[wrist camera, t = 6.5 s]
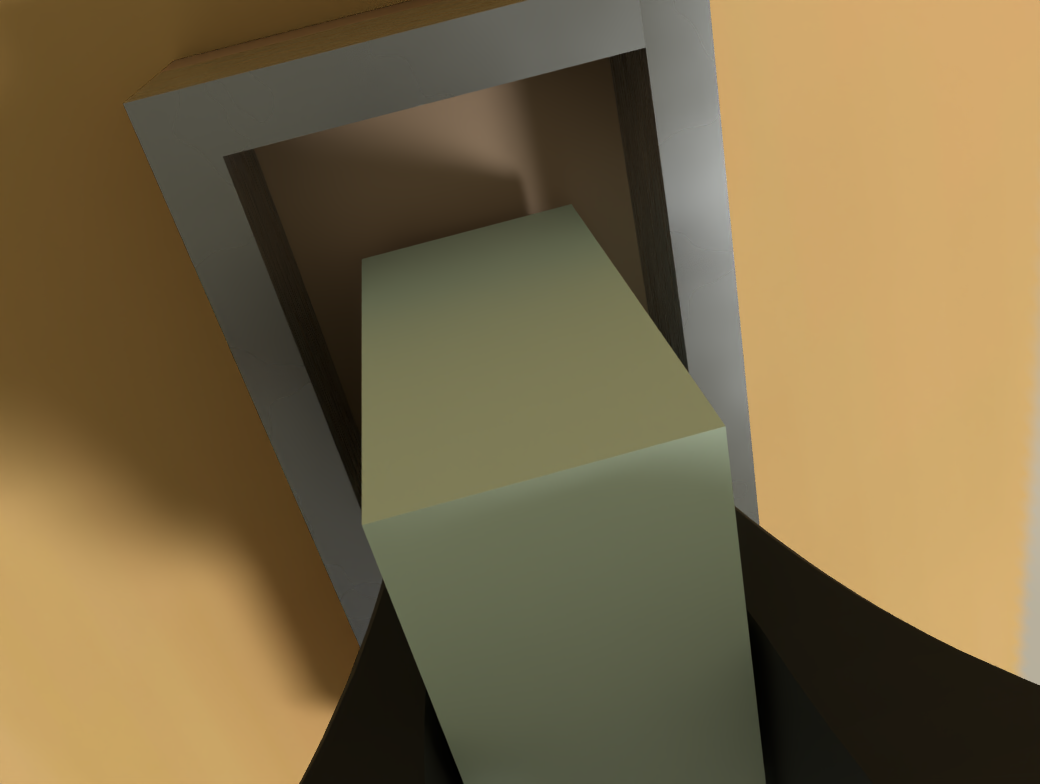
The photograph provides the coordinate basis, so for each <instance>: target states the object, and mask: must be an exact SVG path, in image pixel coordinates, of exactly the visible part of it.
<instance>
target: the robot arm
mask: <svg viewBox="0 0 1040 784" xmlns="http://www.w3.org/2000/svg"><path fill="white" fill-rule="evenodd" d="M735 514H736V523H737V532H738V541H739V550H740V559H741V567H742V576H743V585H744V594H745V603H746V612H747V621H748V630H749V639H750V648H751V656H752V665H753V674H754V683H755V692H756V701H757V710H758V719H759V728H760V737H761V745H762V754H763V763H764V772H765V781H766V784H1040V685H1037V684H1035V683H1032V682H1030V681H1028V680H1025V679H1023V678H1021V677H1019V676H1016V675H1014V674H1012V673H1010V672H1007V671H1005V670H1003V669H1000V668H998V667H996V666H994V665H991V664H989V663H987V662H985V661H982V660H980V659H978V658H976V657H973V656H971V655H969V654H967V653H964V652H962V651H960V650H958V649H956V648H954V647H952V646H950V645H948V644H946V643H944V642H942V641H940V640H938V639H936V638H934V637H932V636H930V635H928V634H926V633H924V632H922V631H921V630H919V629H917V628H915V627H913V626H911V625H910V624H908V623H906V622H904V621H902V620H900V619H899V618H897V617H895V616H893V615H891V614H890V613H888V612H886V611H885V610H883V609H881V608H879V607H878V606H876V605H874V604H873V603H871V602H869V601H868V600H866V599H865V598H863V597H861V596H860V595H858V594H856V593H855V592H853V591H852V590H850V589H849V588H847V587H846V586H844V585H842V584H841V583H839V582H838V581H836V580H835V579H833V578H832V577H830V576H828V575H827V574H826V573H824V572H823V571H821V570H820V569H818V568H817V567H815V566H814V565H812V564H811V563H809V562H808V561H807V560H805V559H804V558H802V557H801V556H800V555H798V554H797V553H796V552H794V551H793V550H791V549H790V548H789V547H787V546H786V545H785V544H783V543H782V542H780V541H779V540H778V539H776V538H775V537H774V536H772V535H771V534H770V533H768V532H767V531H766V530H764V529H763V528H762V527H761V526H759V525H758V524H757V523H755V522H754V521H753V520H752V519H750V518H749V517H748V516H747V515H746V514H744V513H743V512H742V511H741V510H739V509H738V508H737V507H736V506H735ZM299 784H464V783H463V780H462V778H461V775H460V773H459V770H458V768H457V765H456V763H455V760H454V758H453V755H452V752H451V750H450V747H449V745H448V742H447V740H446V737H445V735H444V732H443V730H442V727H441V725H440V722H439V720H438V717H437V714H436V712H435V709H434V707H433V704H432V702H431V699H430V697H429V694H428V692H427V689H426V687H425V684H424V682H423V679H422V677H421V674H420V671H419V669H418V666H417V664H416V661H415V659H414V656H413V654H412V651H411V649H410V646H409V644H408V641H407V639H406V636H405V633H404V631H403V628H402V626H401V623H400V621H399V618H398V616H397V613H396V611H395V608H394V606H393V603H392V601H391V598H390V595H389V593H388V590H387V588H386V585H385V583H384V580H383V579H382V583H381V587H380V590H379V594H378V597H377V600H376V603H375V607H374V610H373V613H372V616H371V619H370V622H369V625H368V628H367V631H366V634H365V636H364V639H363V642H362V644H361V647H360V650H359V652H358V655H357V658H356V660H355V663H354V666H353V668H352V671H351V674H350V676H349V679H348V681H347V684H346V686H345V688H344V691H343V693H342V695H341V697H340V700H339V702H338V704H337V706H336V709H335V711H334V713H333V715H332V718H331V720H330V722H329V724H328V727H327V729H326V731H325V733H324V736H323V738H322V740H321V742H320V744H319V746H318V748H317V750H316V752H315V754H314V756H313V758H312V760H311V762H310V764H309V766H308V768H307V770H306V772H305V774H304V776H303V778H302V780H301V781H300V783H299Z"/></svg>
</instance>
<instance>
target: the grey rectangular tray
mask: <svg viewBox="0 0 1040 784" xmlns="http://www.w3.org/2000/svg"><path fill="white" fill-rule="evenodd" d="M123 105H124V107H125V109H126V112H127V114H128V116H129V118H130V121H131V123H132V125H133V128H134V130H135V132H136V134H137V137H138V139H139V141H140V144H141V146H142V148H143V151H144V153H145V155H146V157H147V160H148V162H149V164H150V167H151V169H152V171H153V173H154V176H155V178H156V180H157V183H158V185H159V187H160V190H161V192H162V194H163V196H164V199H165V201H166V203H167V206H168V208H169V210H170V212H171V215H172V217H173V219H174V222H175V224H176V226H177V229H178V231H179V233H180V235H181V238H182V240H183V242H184V245H185V247H186V249H187V251H188V254H189V256H190V258H191V261H192V263H193V265H194V267H195V270H196V272H197V274H198V277H199V279H200V281H201V284H202V286H203V288H204V290H205V293H206V295H207V297H208V300H209V302H210V304H211V306H212V309H213V311H214V313H215V316H216V318H217V320H218V323H219V325H220V327H221V329H222V332H223V334H224V336H225V339H226V341H227V343H228V345H229V348H230V350H231V352H232V355H233V357H234V359H235V362H236V364H237V366H238V368H239V371H240V373H241V375H242V378H243V380H244V382H245V384H246V387H247V389H248V391H249V394H250V396H251V398H252V401H253V403H254V405H255V407H256V410H257V412H258V414H259V417H260V419H261V421H262V423H263V426H264V428H265V430H266V433H267V435H268V437H269V439H270V442H271V444H272V446H273V449H274V451H275V453H276V456H277V458H278V460H279V462H280V465H281V467H282V469H283V472H284V474H285V476H286V478H287V481H288V483H289V485H290V488H291V490H292V492H293V495H294V497H295V499H296V501H297V504H298V506H299V508H300V511H301V513H302V515H303V517H304V520H305V522H306V524H307V527H308V529H309V531H310V534H311V536H312V538H313V540H314V543H315V545H316V547H317V550H318V552H319V554H320V556H321V559H322V561H323V563H324V566H325V568H326V570H327V572H328V575H329V577H330V579H331V582H332V584H333V586H334V589H335V591H336V593H337V595H338V598H339V600H340V602H341V605H342V607H343V609H344V611H345V614H346V616H347V618H348V621H349V623H350V625H351V628H352V630H353V632H354V634H355V637H356V639H357V641H358V644H359V646H360V647H361V644H362V642H363V639H364V636H365V634H366V631H367V628H368V625H369V622H370V619H371V616H372V613H373V610H374V607H375V603H376V600H377V597H378V594H379V590H380V587H381V583H382V579H383V578H382V575H381V573H380V570H379V568H378V565H377V563H376V560H375V557H374V555H373V552H372V550H371V547H370V545H369V542H368V540H367V537H366V535H365V532H364V530H363V527H362V259H364V258H368V257H372V256H375V255H379V254H383V253H387V252H391V251H394V250H398V249H402V248H406V247H410V246H413V245H417V244H421V243H425V242H429V241H432V240H436V239H440V238H444V237H448V236H451V235H455V234H459V233H463V232H467V231H471V230H474V229H478V228H482V227H486V226H490V225H493V224H497V223H501V222H505V221H509V220H512V219H516V218H520V217H524V216H528V215H531V214H535V213H539V212H543V211H547V210H550V209H554V208H558V207H562V206H566V205H569V204H572V206H573V207H574V208H575V210H576V211H577V213H578V214H579V216H580V217H581V219H582V220H583V221H584V223H585V224H586V226H587V227H588V229H589V230H590V232H591V233H592V234H593V236H594V237H595V239H596V240H597V242H598V243H599V245H600V246H601V247H602V249H603V250H604V252H605V253H606V255H607V256H608V257H609V259H610V260H611V262H612V263H613V265H614V266H615V268H616V269H617V270H618V272H619V273H620V275H621V276H622V278H623V279H624V281H625V282H626V283H627V285H628V286H629V288H630V289H631V291H632V292H633V293H634V295H635V296H636V298H637V299H638V301H639V302H640V304H641V305H642V306H643V308H644V309H645V311H646V312H647V314H648V315H649V317H650V318H651V319H652V321H653V322H654V324H655V325H656V327H657V328H658V330H659V331H660V332H661V334H662V335H663V337H664V338H665V340H666V341H667V342H668V344H669V345H670V347H671V348H672V350H673V351H674V353H675V354H676V355H677V357H678V358H679V360H680V361H681V363H682V364H683V366H684V367H685V368H686V370H687V371H688V373H689V374H690V376H691V377H692V378H693V380H694V381H695V383H696V384H697V386H698V387H699V389H700V390H701V391H702V393H703V394H704V396H705V397H706V399H707V400H708V402H709V403H710V404H711V406H712V407H713V409H714V410H715V412H716V413H717V414H718V416H719V417H720V419H721V420H722V422H723V423H724V425H725V426H726V434H727V443H728V452H729V461H730V470H731V478H732V487H733V496H734V505H735V506H736V507H737V508H738V509H739V510H741V511H742V512H743V513H744V514H746V515H747V516H748V517H749V518H750V519H752V520H753V521H754V522H755V523H757V524H758V525H759V516H758V506H757V495H756V485H755V474H754V464H753V453H752V443H751V432H750V422H749V411H748V401H747V390H746V380H745V369H744V359H743V348H742V338H741V327H740V317H739V306H738V296H737V285H736V275H735V264H734V254H733V243H732V233H731V222H730V212H729V202H728V191H727V181H726V170H725V160H724V149H723V139H722V128H721V118H720V107H719V97H718V86H717V76H716V65H715V55H714V44H713V34H712V23H711V13H710V2H709V0H410V1H406V2H402V3H398V4H394V5H391V6H387V7H383V8H379V9H375V10H371V11H367V12H363V13H359V14H355V15H351V16H347V17H343V18H339V19H335V20H332V21H328V22H324V23H320V24H316V25H312V26H308V27H304V28H300V29H296V30H292V31H288V32H284V33H280V34H276V35H273V36H269V37H265V38H261V39H257V40H253V41H249V42H245V43H241V44H237V45H233V46H229V47H225V48H221V49H218V50H214V51H210V52H206V53H202V54H198V55H194V56H190V57H186V58H182V59H178V60H174V61H173V62H172V63H170V64H169V65H168V66H167V67H166V68H164V69H163V70H162V71H161V72H160V73H159V74H157V75H156V76H155V77H154V78H153V79H151V80H150V81H149V82H148V83H147V84H146V85H144V86H143V87H142V88H141V89H140V90H138V91H137V92H136V93H135V94H134V95H133V96H131V97H130V98H129V99H128V100H127V101H125V102H124V103H123Z"/></svg>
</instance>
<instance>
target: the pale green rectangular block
mask: <svg viewBox="0 0 1040 784" xmlns="http://www.w3.org/2000/svg"><path fill="white" fill-rule="evenodd" d="M362 527H363V530H364V532H365V535H366V537H367V540H368V542H369V545H370V547H371V550H372V552H373V555H374V557H375V560H376V563H377V565H378V568H379V570H380V573H381V575H382V578H383V580H384V583H385V585H386V588H387V590H388V593H389V595H390V598H391V601H392V603H393V606H394V608H395V611H396V613H397V616H398V618H399V621H400V623H401V626H402V628H403V631H404V633H405V636H406V639H407V641H408V644H409V646H410V649H411V651H412V654H413V656H414V659H415V661H416V664H417V666H418V669H419V671H420V674H421V677H422V679H423V682H424V684H425V687H426V689H427V692H428V694H429V697H430V699H431V702H432V704H433V707H434V709H435V712H436V714H437V717H438V720H439V722H440V725H441V727H442V730H443V732H444V735H445V737H446V740H447V742H448V745H449V747H450V750H451V752H452V755H453V758H454V760H455V763H456V765H457V768H458V770H459V773H460V775H461V778H462V780H463V783H464V784H766V781H765V772H764V763H763V754H762V745H761V737H760V728H759V719H758V710H757V701H756V692H755V683H754V674H753V665H752V656H751V648H750V639H749V630H748V621H747V612H746V603H745V594H744V585H743V576H742V567H741V559H740V550H739V541H738V532H737V523H736V514H735V505H734V496H733V487H732V478H731V470H730V461H729V452H728V443H727V434H726V426H725V425H724V423H723V422H722V420H721V419H720V417H719V416H718V414H717V413H716V412H715V410H714V409H713V407H712V406H711V404H710V403H709V402H708V400H707V399H706V397H705V396H704V394H703V393H702V391H701V390H700V389H699V387H698V386H697V384H696V383H695V381H694V380H693V378H692V377H691V376H690V374H689V373H688V371H687V370H686V368H685V367H684V366H683V364H682V363H681V361H680V360H679V358H678V357H677V355H676V354H675V353H674V351H673V350H672V348H671V347H670V345H669V344H668V342H667V341H666V340H665V338H664V337H663V335H662V334H661V332H660V331H659V330H658V328H657V327H656V325H655V324H654V322H653V321H652V319H651V318H650V317H649V315H648V314H647V312H646V311H645V309H644V308H643V306H642V305H641V304H640V302H639V301H638V299H637V298H636V296H635V295H634V293H633V292H632V291H631V289H630V288H629V286H628V285H627V283H626V282H625V281H624V279H623V278H622V276H621V275H620V273H619V272H618V270H617V269H616V268H615V266H614V265H613V263H612V262H611V260H610V259H609V257H608V256H607V255H606V253H605V252H604V250H603V249H602V247H601V246H600V245H599V243H598V242H597V240H596V239H595V237H594V236H593V234H592V233H591V232H590V230H589V229H588V227H587V226H586V224H585V223H584V221H583V220H582V219H581V217H580V216H579V214H578V213H577V211H576V210H575V208H574V207H573V206H572V204H569V205H566V206H562V207H558V208H554V209H550V210H547V211H543V212H539V213H535V214H531V215H528V216H524V217H520V218H516V219H512V220H509V221H505V222H501V223H497V224H493V225H490V226H486V227H482V228H478V229H474V230H471V231H467V232H463V233H459V234H455V235H451V236H448V237H444V238H440V239H436V240H432V241H429V242H425V243H421V244H417V245H413V246H410V247H406V248H402V249H398V250H394V251H391V252H387V253H383V254H379V255H375V256H372V257H368V258H364V259H362Z"/></svg>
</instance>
